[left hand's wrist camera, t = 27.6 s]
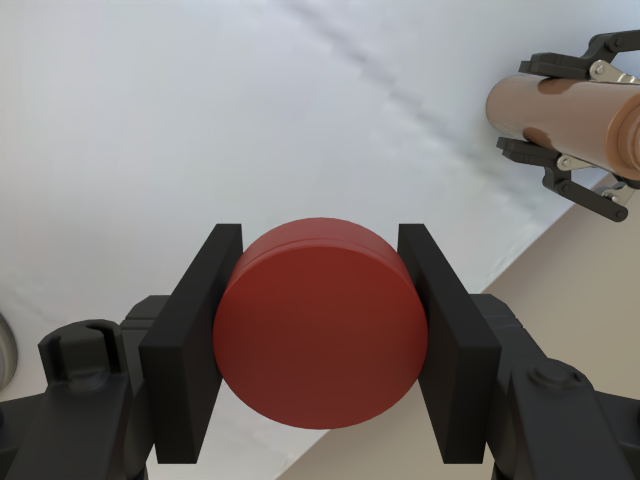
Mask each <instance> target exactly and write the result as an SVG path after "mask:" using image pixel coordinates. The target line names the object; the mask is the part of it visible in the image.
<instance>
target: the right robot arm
mask: <svg viewBox="0 0 640 480" xmlns="http://www.w3.org/2000/svg"><path fill="white" fill-rule="evenodd" d="M635 50H640V30H632V31H623V32H615V33H606V34H598V35H595V36H593V37H592V38H591V40H590V42H589V49H588V50H587V51H586V53H585V54H584V55H583V56H582V57H580V58H577V57H572V56H566V55H561V54H555V53H538V54H534V55H532V57H531V60H530V61H521V64H520V68H519V71H518V72H522V73H528V74H534V75H539V76H545V77H551V78H568V79H585V80H601V81H617V82H633V83H640V80H638V79H637V78H635V77H633V76H631V75H627V74H625V73H623V72H621V71H620V70H618V69H617V68H615V67H614V66H612V65H610V63H611V61H612V60H613V59H614V57H615V56H616V55H617V53H618V52H626V51H635ZM496 147H498V148H500V149H503V153H502V155H504V156H505V157H507V158H508V159H510V160H512V161H514V162H518V163H524V164H530V165H536V166H543V167H544V168H545V176H544V177H543V180H542V184H543V186H544V187H546V188H548V189H550V190H551V191H553V192H555V193H557V194H559V195H561V196H563V197H565V198H567V199H569V200H571V201H573V202H575V203H577V204H579V205H581V206H583V207H586V208H588V209H590V210H592V211H594V212H596V213H598V214H600V215H602V216H604V217H606V218H608V219H610V220H612V221H615V222H621V221H623V220H625V219H626V217H627V216H628V210H627V208H625V207H624V205H625V204H626V203H627V201H628V200H629V198H630V197H631V196H632V194H633V193H634V192H635V190H636V189H640V181H638V180H631V179H627V178H624V177H622V176H619V175H616V174H614V173H612V174H613V176H614V177H615V178H616V179H617V181H618V183H617V184H616V185H614V186H611V187H608V186H600V187H598V188H596V189H594V192H593V191H591V190H589V189H587V188H584V187H582V186H580V185H578V184H576V183H574V182H572V181H571V170H574V169H580V168H587V167H594V168H598V167H595V166H592V165H590V164H587V163H584V162H582V161H579V160H576V159H574V158H571V157H568V156H566V155H563V154H560V153H558V152H555V151H552V150H550V149H547V148H544V147H542V146H539V145H536V144H534V143H531V142H528V141H522V140H516V139H510V138H504V137H499V139H498V142H497V146H496Z"/></svg>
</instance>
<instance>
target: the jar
mask: <svg viewBox="0 0 640 480" xmlns="http://www.w3.org/2000/svg"><path fill="white" fill-rule="evenodd" d="M486 114H487V118H488V120H489V122H490V123H491V124H492V126H493V127H494V128H496V129H497V130H499V131H502V132H504V133H507V134H510V135H512V136H515V137H518V138H520V139H523V140H526V141H528V142H531V143H534V144H536V145H539V146H542V147H544V148H547V149H550V150H552V151H555V152H558V153H560V154H563V155H566V156H568V157H571V158H574V159H576V160H579V161H582V162H584V163H587V164H590V165H592V166H595V167H598V168H600V169H603V170H606V171H608V172H611V173H614V174H616V175H619V176H622V177H624V178H627V179H631V180H638V181H640V83H633V82H617V81H601V80H585V79H568V78H551V77H536V76H517V75H516V76H511V77H508V78H505V79H503V80H502V81H500V82H499V83H498V84H497V85H496V86H495V87H494V88H493V89H492V91H491V92H490V94H489V96H488V99H487V103H486Z"/></svg>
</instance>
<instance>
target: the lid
mask: <svg viewBox="0 0 640 480" xmlns="http://www.w3.org/2000/svg"><path fill="white" fill-rule="evenodd" d="M428 333H429V332H428V322H427V318H426V314H425V311H424V308H423V305H422V303H421V301H420V298H419V296H418V294H417V291H416V289H415V286H414V284H413V282H412V279H411V277H410V275H409V272H408V270H407V268H406V266H405V264H404V262H403V261H402V259H401V258H400V256H399V255H398V253H397V252H396V251H395V250H394V249H393V248H392V246H391V245H390V244H388V243H387V242H386V241H385V240H384V239H383V238H381V237H380V236H378V235H377V234H375V233H374V232H372V231H371V230H369V229H367V228H365V227H362V226H360V225H358V224H355V223H352V222H349V221H345V220H340V219H335V218H307V219H301V220H296V221H292V222H289V223H286V224H283V225H281V226H278V227H276V228H274V229H272V230H270V231H269V232H267V233H265V234H264V235H262V236H261V237H259V238H258V239H257V240H256V241H255V242H253V243H252V244H251V245H250V246H249V247H248V248H247V250H246V251H245V252H244V253H243V254H242V256H241V257H240V259H239V260H238V262H237V263H236V265H235V267H234V270H233V272H232V274H231V276H230V279H229V281H228V283H227V286H226V288H225V290H224V293H223V295H222V298H221V300H220V302H219V305H218V307H217V310H216V314H215V317H214V321H213V328H212V341H213V351H214V357H215V360H216V363H217V366H218V369H219V371H220V373H221V375H222V377H223V379H224V380H225V382H226V383H227V384H228V386H229V387H230V389H231V390H232V391H233V392H234V393H235V394H236V396H237V397H238V398H239V399H241V400H242V401H243V402H244V403H245V404H246V405H247V406H249V407H250V408H252V409H253V410H255V411H256V412H258V413H259V414H261V415H263V416H265V417H267V418H269V419H271V420H274V421H276V422H279V423H282V424H285V425H289V426H293V427H298V428H304V429H318V430H322V429H336V428H342V427H348V426H352V425H356V424H359V423H362V422H364V421H367V420H370V419H372V418H374V417H376V416H378V415H380V414H381V413H383V412H384V411H386V410H388V409H389V408H391V407H392V406H393V405H394V404H396V403H397V402H398V401H399V400H400V399H401V398H402V397H403V396H404V395H405V394H406V393H407V392H408V391H409V390H410V388H411V387H412V386H413V384H414V383H415V381H416V380H417V378H418V376H419V374H420V372H421V370H422V368H423V365H424V362H425V359H426V354H427V344H428Z"/></svg>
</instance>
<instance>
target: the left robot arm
mask: <svg viewBox="0 0 640 480" xmlns="http://www.w3.org/2000/svg"><path fill="white" fill-rule="evenodd" d="M397 253H398V255H399V256H400V258H401V259H402V261H403V262H404V264H405V266H406V268H407V270H408V272H409V275H410V277H411V279H412V282H413V284H414V286H415V289H416V291H417V294H418V296H419V298H420V301H421V303H422V305H423V308H424V311H425V314H426V318H427V322H428V332H429V333H428V344H427V354H426V359H425V362H424V365H423V368H422V370H421V372H420V374H419V376H418V381H419V384H420V387H421V391H422V394H423V397H424V401H425V404H426V407H427V410H428V414H429V417H430V420H431V423H432V427H433V430H434V433H435V436H436V440H437V443H438V446H439V449H440V453H441V456H442V459H443V462H444V464H482V463H483V457H484V451H485V445H486V441H487V444H488V446H489V448H490V450H491V453H492V455H493V457H494V459H495V462H494V467H493V473H492V478H491V480H640V400H636V399H631V398H626V397H621V396H616V395H612V394H607V393H603V392H599V391H595V390H594V388H593V386H592V384H591V383H590V381H589V380H588V379H587V377H586V376H585V375H584V374H582V373H581V372H580V371H578V370H577V369H575V368H574V367H572V366H570V365H568V364H566V363H563V362H561V361H559V360H555V359H551V358H547V356H546V355H545V354H544V353H543V351H542V350H541V349H540V347H539V346H538V345H537V344H536V342H535V341H534V340H533V338H532V337H531V336H530V334H529V333H528V332H527V331H526V329H525V328H523V325H522V324H521V323H520V321H519V320H518V319H517V318H515V315H514V314H513V312H512V311H511V310H510V308H509V307H508V306H507V305H506V304H505V303H504V302H502V301H500V300H499V299H497V298H496V297H494V296H493V295H491V294H468V292H467V291H466V289H465V288H464V286H463V285H462V283H461V281H460V280H459V278H458V277H457V275H456V274H455V272H454V270H453V269H452V267H451V266H450V264H449V263H448V261H447V260H446V258H445V256H444V255H443V253H442V252H441V250H440V249H439V247H438V246H437V244H436V242H435V241H434V239H433V238H432V236H431V235H430V233H429V232H428V230H427V228H426V227H425V225H424V224H399V232H398V247H397ZM242 254H243V243H242V228H241V224H216V226H215V227H214V229H213V230H212V232H211V234H210V235H209V237H208V238H207V240H206V241H205V243H204V244H203V246H202V248H201V249H200V251H199V252H198V254H197V255H196V257H195V258H194V260H193V262H192V263H191V265H190V266H189V268H188V269H187V271H186V272H185V274H184V276H183V277H182V279H181V280H180V282H179V283H178V285H177V287H176V288H175V290H174V291H173V293H172V294H171V295H150V296H149V297H147V298H146V299H144V300H142V301H141V302H139V303H138V304H136V305H135V306H134V307H133V308H132V309H131V311H130V312H129V313H128V315H127V316H126V317H125V320H123V321H122V322H121V324H120V325H118V324H116V323H115V322H113V321H108V320H104V319H97V320H85V321H80V322H75V323H71V324H69V325H66V326H64V327H61V328H58V329H56V330H55V331H53V332H52V333H50V334H48V335H47V336H45V337H44V338H43V339H42V341H41V342H40V343H39V344H38V348H39V352H40V356H41V360H42V364H43V367H44V371H45V375H46V379H47V382H48V387H47V389H46V391H45V393H41V394H38V395H34V396H29V397H24V398H19V399H14V400H9V401H4V402H0V480H148V473H147V467H146V460H147V458H148V456H149V454H150V451H151V449H152V447H153V444H155V450H156V455H157V461H158V464H196V463H197V460H198V457H199V453H200V450H201V447H202V444H203V440H204V437H205V434H206V431H207V428H208V424H209V421H210V418H211V415H212V411H213V408H214V405H215V402H216V398H217V395H218V392H219V389H220V385H221V382H222V379H223V377H222V375H221V373H220V371H219V369H218V366H217V363H216V360H215V357H214V351H213V341H212V328H213V321H214V317H215V314H216V310H217V307H218V305H219V302H220V300H221V298H222V295H223V293H224V290H225V288H226V286H227V283H228V281H229V279H230V276H231V274H232V272H233V270H234V267H235V265H236V263H237V262H238V260H239V259H240V257H241V256H242ZM16 365H17V349H16V344H15V340H14V338H13V335H12V333H11V331H10V329H9V327H8V325H7V324H6V322H5V321H4V319H3V318H2V316H1V315H0V392H1V391H2V390H3V388H4V387H5V386H6V385H7V384H8V383H9V382H10V380H11V378H12V377H13V375H14V372H15V369H16Z"/></svg>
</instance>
